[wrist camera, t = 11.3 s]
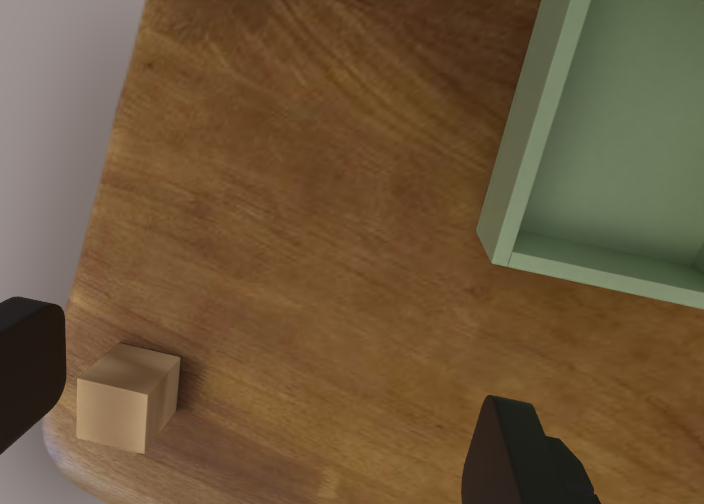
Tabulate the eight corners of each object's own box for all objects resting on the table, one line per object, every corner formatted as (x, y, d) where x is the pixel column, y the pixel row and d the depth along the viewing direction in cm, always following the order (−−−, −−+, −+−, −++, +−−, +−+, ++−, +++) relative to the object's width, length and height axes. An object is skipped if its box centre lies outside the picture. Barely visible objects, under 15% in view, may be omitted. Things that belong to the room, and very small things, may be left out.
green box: (692, 277, 28) (761, 322, 23) (475, 231, 29) (490, 263, 23) (828, -25, 23) (959, -63, 18) (561, -74, 24) (608, -125, 18)
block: (116, 396, 35) (76, 438, 31) (118, 342, 34) (76, 378, 30) (176, 410, 35) (144, 454, 31) (181, 356, 34) (147, 394, 29)
